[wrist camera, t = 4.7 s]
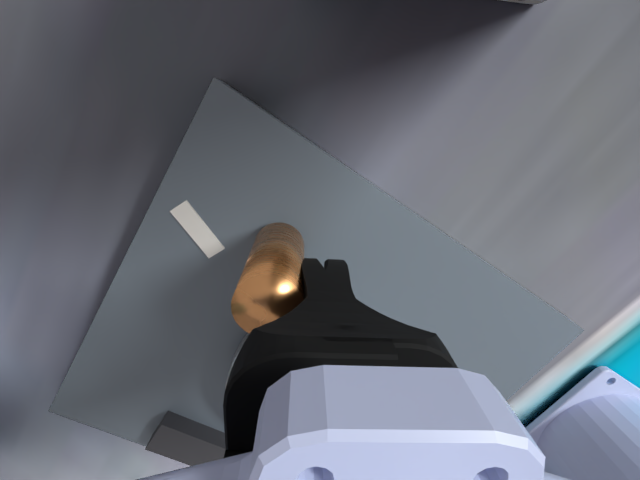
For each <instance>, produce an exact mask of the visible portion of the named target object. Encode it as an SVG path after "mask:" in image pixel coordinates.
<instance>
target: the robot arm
mask: <svg viewBox="0 0 640 480" xmlns="http://www.w3.org/2000/svg"><path fill="white" fill-rule="evenodd" d="M301 268H302V277H303V287H304V300H303V301H302V302H301V303H300V304H299V305H298V306H296V307H295V308H294V309H293V310H292V311H290V312H289V313H287V314H285V315H284V316H282V317H280V318H278V319H276V320H274V321H272V322H269V323H267V324H264V325H262V326H259V327H257V328H254V329H253V330H252V331H251V332H250V334H249V336H248V337H247V339H246V341H245V342H244V344H243V346H242V348H241V350H240V352H239V354H238V356H237V358H236V360H235V362H234V364H233V367H232V369H231V372H230V375H229V379H228V382H227V386H226V389H225V393H224V401H223V414H224V431H225V449H226V450H225V454H224V458H223V459H219V460H215V461H211V462H207V463H203V464H199V465H194V466H190V467H186V468H182V469H178V470H174V471H170V472H166V473H162V474H158V475H154V476H150V477H145V478H141V479H137V480H640V388H638V387H637V386H635V385H634V384H632V383H631V382H629V381H628V380H626V379H625V378H623V377H622V376H620V375H619V374H617V373H616V372H614V371H613V370H611V369H609V368H608V367H606V366H600V367H597V368H595V369H594V370H593V371H592V372H590V373H589V374H588V375H587V376H586V377H585V378H583V379H582V380H581V381H580V382H579V383H577V384H576V385H575V386H574V387H573V388H572V389H570V390H569V391H568V392H567V393H566V394H564V395H563V396H562V397H561V398H560V399H559V400H557V401H556V402H555V403H554V404H553V405H551V406H550V407H549V408H548V409H547V410H546V411H544V412H543V413H542V414H541V415H540V416H539V417H537V418H536V419H535V420H534V421H533V422H531V423H530V424H529V425H528V426H527V427H526V428H525V427H524V426H523V424H522V423H521V421H520V420H519V419H518V417H517V416H516V414H515V413H514V412H513V410H512V409H511V407H510V406H509V404H508V403H507V402H506V400H505V399H504V397H503V396H502V394H501V393H500V392H499V391H498V390H497V388H496V387H495V386H494V385H493V384H492V383H491V382H490V381H489V379H488V378H487V377H486V376H485V375H482V374H478V373H475V372H471V371H467V370H463V369H459V368H458V367H457V365H456V364H455V362H454V360H453V358H452V357H451V355H450V353H449V351H448V350H447V348H446V347H445V345H444V344H443V342H442V341H441V340H440V338H439V337H438V336H437V334H436V333H432V332H429V331H426V330H423V329H419V328H416V327H413V326H409V325H407V324H404V323H402V322H399V321H397V320H394V319H392V318H389V317H387V316H385V315H383V314H381V313H379V312H377V311H375V310H374V309H372V308H370V307H368V306H367V305H365V304H363V303H362V302H360V301H359V300H357V299H356V298H355V295H354V293H353V291H352V287H351V281H350V275H349V269H348V265H347V263H346V262H345V261H344V260H339V259H327V260H326V261H325V262H324V267H323V266H322V264H321V263H320V262H319V261H318V259H316V258H304V259H303V262H302V264H301Z"/></svg>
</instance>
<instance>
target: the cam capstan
mask: <svg viewBox="0 0 640 480" xmlns="http://www.w3.org/2000/svg"><path fill="white" fill-rule="evenodd" d="M303 259H304V241H303V238H302V235H301V234H300V232H299V231H298V230H297V229H296V228H294V227H293V226H291V225H289V224H286V223H272V224H269V225H267V226H265V227H264V228H262V229H261V230H260V231H259V233H258V234H257V236H256V239H255V241H254V244H253V246H252V249H251V251H250V254H249V256H248V259H247V262H246V264H245V267H244V269H243V272H242V274H241V277H240V279H239V282H238V284H237V287H236V289H235V292H234V294H233V297H232V300H231V312H232V315H233V318H234V320H235V321H236V323H237V324H238V325H239V326H240V327H241V328H242V329H243V330H244V331H246V332H247V334H246V335H245V337H244V338H243V339H242V340H241V342H240V344H239V345H238V347H237V349H236V351H235V354H234V356H233V359H232V363H231V366H230V370H229V373H228V376H227V381H226V386H227V382H228V379H229V375H230V372H231V369H232V367H233V364H234V362H235V360H236V358H237V356H238V354H239V352H240V350H241V348H242V346H243V344H244V342H245V341H246V339H247V337H248V336H249V334H250V332H251V331H252V330H253V329H254V328H257V327H259V326H262V325H264V324H267V323H269V322H272V321H274V320H276V319H278V318H280V317H282V316H284V315H285V314H287V313H289V312H290V311H292V310H293V309H294V308H295V307H296V306H298V305H299V304H300V303H301V302H302V301H303V300H304V287H303V277H302V268H301V264H302V262H303ZM226 386H225V389H226Z"/></svg>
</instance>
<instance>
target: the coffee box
mask: <svg viewBox="0 0 640 480" xmlns="http://www.w3.org/2000/svg"><path fill="white" fill-rule="evenodd" d="M499 1H508V2H516V3H525V4H539V3H541V2H544V1H546V0H499Z"/></svg>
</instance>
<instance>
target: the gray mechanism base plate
mask: <svg viewBox="0 0 640 480" xmlns="http://www.w3.org/2000/svg"><path fill="white" fill-rule="evenodd" d="M272 223H286V224H289V225H291V226H293V227H294V228H296V229H297V230H298V231H299V232H300V234H301V235H302V238H303V241H304V258H316V259H318V261H319V262H320V263H321V264H322V266H323V267H324V262H325V261H326V260H327V259H339V260H344V261H345V262H346V263H347V265H348V269H349V275H350V281H351V287H352V291H353V293H354V295H355V298H356V299H357V300H359V301H360V302H362V303H363V304H365V305H367V306H368V307H370V308H372V309H374V310H375V311H377V312H379V313H381V314H383V315H385V316H387V317H389V318H392V319H394V320H397V321H399V322H402V323H404V324H407V325H409V326H413V327H416V328H419V329H423V330H426V331H429V332H432V333H436V334H437V336H438V337H439V338H440V340H441V341H442V342H443V344H444V345H445V347H446V348H447V350H448V351H449V353H450V355H451V357H452V358H453V360H454V362H455V364H456V365H457V367H458V368H459V369H463V370H467V371H471V372H475V373H478V374H482V375H485V376H486V377H487V378H488V379H489V381H490V382H491V383H492V384H493V385H494V386H495V387H496V388H497V390H498V391H499V392H500V393H501V394H502V396H503V397H504V399H505V400H506V401H507V400H508V399H509V398H510V397H511V396H512V395H513V394H514V393H515V392H517V391H518V390H519V389H520V388H521V387H522V386H523V385H524V384H525V383H527V382H528V381H529V380H530V379H531V378H532V377H533V376H534V375H535V374H537V373H538V372H539V371H540V370H541V369H542V368H543V367H544V366H545V365H547V364H548V363H549V362H550V361H551V360H552V359H553V358H554V357H555V356H557V355H558V354H559V353H560V352H561V351H562V350H563V349H564V348H565V347H567V346H568V345H569V344H570V343H571V342H572V341H573V340H574V339H575V338H577V337H578V336H579V335H580V334H581V333H582V332H583V331H584V330H583V329H582V328H581V327H579V326H578V325H577V324H575V323H574V322H573V321H571V320H570V319H569V318H567V317H566V316H565V315H563V314H562V313H560V312H559V311H557V310H556V309H555V308H553V307H552V306H550V305H549V304H547V303H546V302H544V301H543V300H541V299H540V298H539V297H537V296H536V295H534V294H533V293H531V292H530V291H528V290H527V289H525V288H524V287H522V286H521V285H520V284H518V283H517V282H515V281H514V280H512V279H511V278H509V277H508V276H506V275H505V274H504V273H502V272H501V271H499V270H498V269H496V268H495V267H493V266H492V265H490V264H489V263H487V262H486V261H485V260H483V259H482V258H480V257H479V256H477V255H476V254H474V253H473V252H471V251H470V250H469V249H467V248H466V247H464V246H463V245H461V244H460V243H458V242H457V241H455V240H454V239H452V238H451V237H450V236H448V235H447V234H445V233H444V232H442V231H441V230H439V229H438V228H436V227H435V226H434V225H432V224H431V223H429V222H428V221H426V220H425V219H423V218H422V217H420V216H419V215H418V214H416V213H415V212H413V211H412V210H410V209H409V208H407V207H406V206H404V205H403V204H401V203H400V202H399V201H397V200H396V199H394V198H393V197H391V196H390V195H388V194H387V193H385V192H384V191H383V190H381V189H380V188H378V187H377V186H375V185H374V184H372V183H371V182H369V181H368V180H366V179H365V178H364V177H362V176H361V175H359V174H358V173H356V172H355V171H353V170H352V169H350V168H349V167H348V166H346V165H345V164H343V163H342V162H340V161H339V160H337V159H336V158H334V157H333V156H331V155H330V154H329V153H327V152H326V151H324V150H323V149H321V148H320V147H318V146H317V145H315V144H314V143H313V142H311V141H310V140H308V139H307V138H305V137H304V136H302V135H301V134H299V133H298V132H296V131H295V130H294V129H292V128H291V127H289V126H288V125H286V124H285V123H283V122H282V121H280V120H279V119H278V118H276V117H275V116H273V115H272V114H270V113H269V112H267V111H266V110H264V109H263V108H261V107H260V106H259V105H257V104H256V103H254V102H253V101H251V100H250V99H248V98H247V97H245V96H244V95H243V94H241V93H240V92H238V91H237V90H235V89H234V88H232V87H231V86H229V85H228V84H226V83H225V82H224V81H222V80H220V79H218V78H215V77H213V79H212V81H211V83H210V85H209V87H208V89H207V91H206V93H205V95H204V97H203V99H202V101H201V104H200V106H199V108H198V110H197V112H196V114H195V116H194V118H193V120H192V122H191V124H190V126H189V128H188V130H187V132H186V134H185V136H184V138H183V140H182V142H181V144H180V146H179V148H178V150H177V152H176V154H175V156H174V158H173V160H172V162H171V164H170V166H169V168H168V170H167V172H166V174H165V176H164V178H163V180H162V182H161V184H160V186H159V188H158V190H157V192H156V194H155V197H154V199H153V201H152V203H151V205H150V207H149V209H148V211H147V213H146V215H145V217H144V219H143V221H142V223H141V225H140V227H139V229H138V231H137V233H136V235H135V237H134V239H133V241H132V243H131V245H130V247H129V249H128V251H127V253H126V255H125V257H124V259H123V261H122V263H121V265H120V267H119V269H118V271H117V273H116V275H115V277H114V279H113V281H112V283H111V285H110V287H109V289H108V292H107V294H106V296H105V298H104V300H103V302H102V304H101V306H100V308H99V310H98V312H97V314H96V316H95V318H94V320H93V322H92V324H91V326H90V328H89V330H88V332H87V334H86V336H85V338H84V340H83V342H82V344H81V346H80V348H79V350H78V352H77V354H76V356H75V358H74V360H73V362H72V364H71V366H70V368H69V370H68V372H67V374H66V376H65V378H64V380H63V382H62V385H61V387H60V389H59V391H58V393H57V395H56V397H55V399H54V401H53V403H52V405H51V407H50V409H49V412H52V413H55V414H57V415H60V416H63V417H66V418H68V419H71V420H74V421H77V422H80V423H82V424H85V425H88V426H91V427H93V428H96V429H99V430H102V431H105V432H107V433H110V434H113V435H116V436H118V437H121V438H124V439H127V440H130V441H132V442H135V443H138V444H141V445H143V446H146V450H149V451H151V452H154V453H157V454H160V455H163V456H165V457H168V458H171V459H174V460H177V461H179V462H182V463H185V464H188V465H190V466H194V465H199V464H203V463H207V462H211V461H215V460H219V459H223V458H224V454H225V450H226V449H225V431H224V414H223V401H224V393H225V386H226V381H227V376H228V373H229V370H230V366H231V363H232V359H233V356H234V354H235V351H236V349H237V347H238V345H239V344H240V342H241V340H242V339H243V338H244V337H245V335H246V334H247V332H246V331H244V330H243V329H242V328H241V327H240V326H239V325H238V324H237V323H236V321H235V320H234V318H233V315H232V312H231V300H232V297H233V294H234V292H235V289H236V287H237V284H238V282H239V279H240V277H241V274H242V272H243V269H244V267H245V264H246V262H247V259H248V256H249V254H250V251H251V249H252V246H253V244H254V241H255V239H256V236H257V234H258V233H259V231H260V230H261V229H262V228H264V227H265V226H267V225H269V224H272Z"/></svg>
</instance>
